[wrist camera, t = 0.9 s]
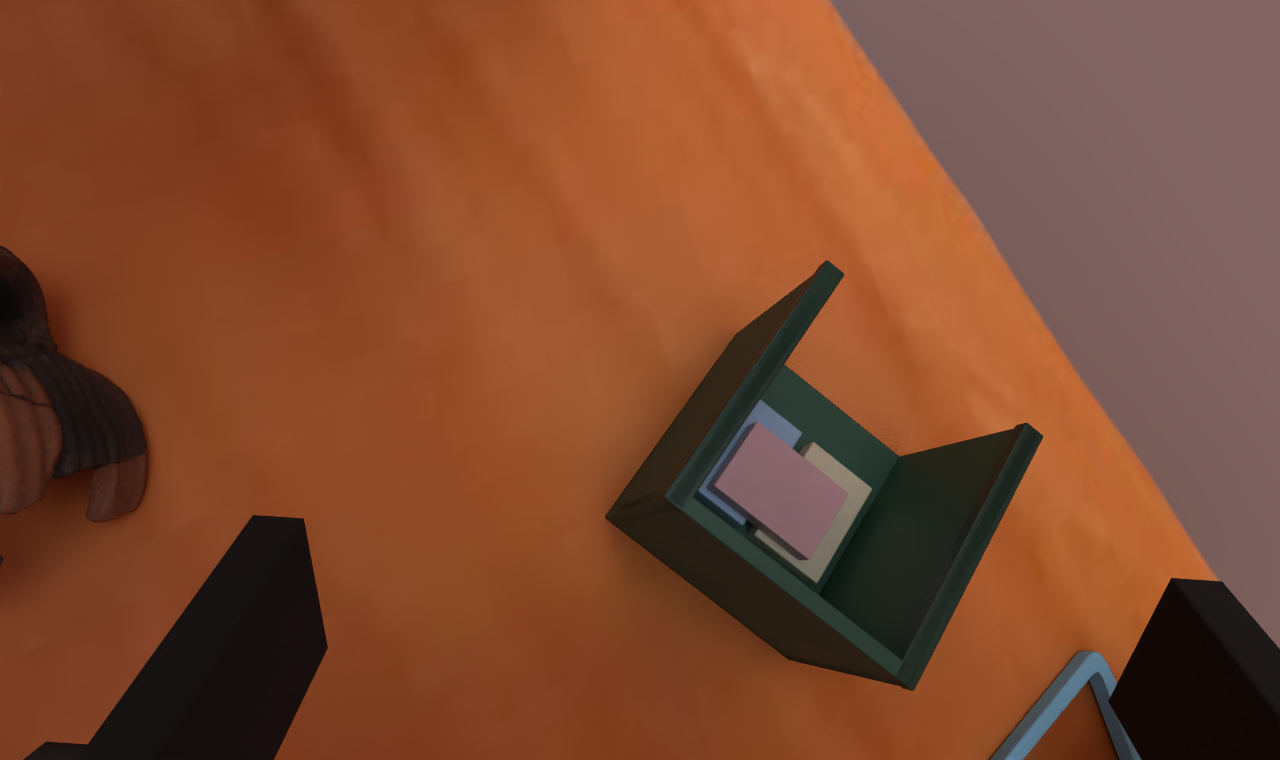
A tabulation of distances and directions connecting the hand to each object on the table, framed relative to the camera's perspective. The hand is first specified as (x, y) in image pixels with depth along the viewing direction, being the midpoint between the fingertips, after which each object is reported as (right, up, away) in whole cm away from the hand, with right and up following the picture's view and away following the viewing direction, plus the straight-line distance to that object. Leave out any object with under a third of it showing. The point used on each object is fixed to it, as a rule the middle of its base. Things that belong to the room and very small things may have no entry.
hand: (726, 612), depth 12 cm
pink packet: (+4, -1, +21) cm, 22 cm away
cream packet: (+6, -2, +22) cm, 23 cm away
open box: (+4, -1, +23) cm, 23 cm away
